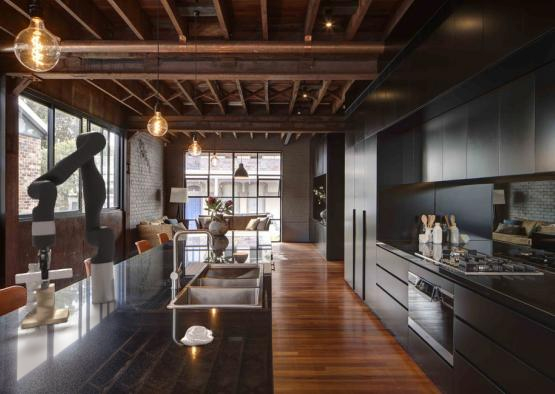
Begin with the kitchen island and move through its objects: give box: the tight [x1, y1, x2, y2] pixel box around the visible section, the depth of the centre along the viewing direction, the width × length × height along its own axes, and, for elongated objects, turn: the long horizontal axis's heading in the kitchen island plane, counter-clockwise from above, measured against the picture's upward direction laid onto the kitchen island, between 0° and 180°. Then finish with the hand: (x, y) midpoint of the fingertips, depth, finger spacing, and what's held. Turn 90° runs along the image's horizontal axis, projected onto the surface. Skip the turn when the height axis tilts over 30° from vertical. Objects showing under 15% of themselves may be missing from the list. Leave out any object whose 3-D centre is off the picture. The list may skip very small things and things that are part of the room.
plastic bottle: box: [25, 262, 43, 314], centre depth 149 cm, size 6×7×20 cm
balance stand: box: [20, 280, 70, 330], centre depth 138 cm, size 14×14×14 cm
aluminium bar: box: [14, 268, 73, 284], centre depth 138 cm, size 18×3×3 cm, turn 118°
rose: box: [180, 325, 214, 346], centre depth 111 cm, size 10×4×10 cm
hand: (45, 278), depth 139 cm, fingers closed on aluminium bar, 3 cm apart
